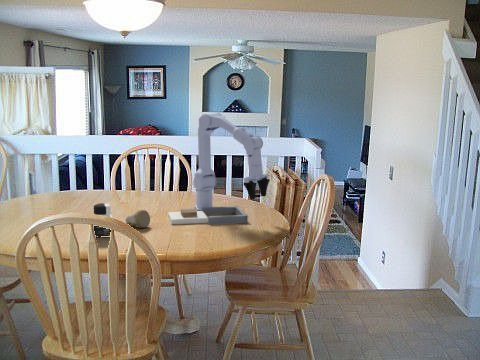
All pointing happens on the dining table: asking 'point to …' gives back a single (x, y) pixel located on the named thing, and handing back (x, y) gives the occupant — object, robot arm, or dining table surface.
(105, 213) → the medicine bottle
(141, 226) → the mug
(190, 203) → the dining table surface
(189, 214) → the tile
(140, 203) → the dining table surface
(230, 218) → the box
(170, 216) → the board
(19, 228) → the dining table surface
